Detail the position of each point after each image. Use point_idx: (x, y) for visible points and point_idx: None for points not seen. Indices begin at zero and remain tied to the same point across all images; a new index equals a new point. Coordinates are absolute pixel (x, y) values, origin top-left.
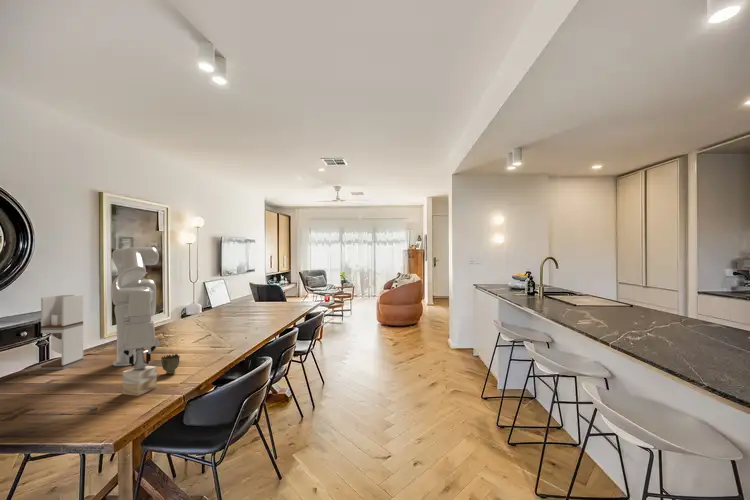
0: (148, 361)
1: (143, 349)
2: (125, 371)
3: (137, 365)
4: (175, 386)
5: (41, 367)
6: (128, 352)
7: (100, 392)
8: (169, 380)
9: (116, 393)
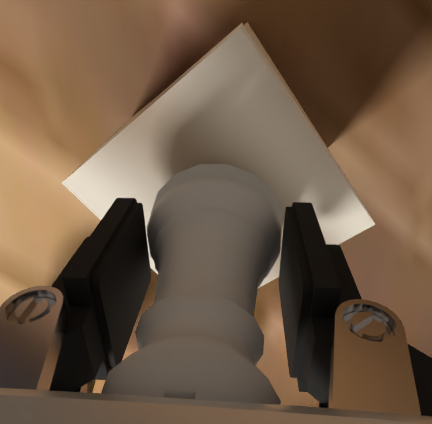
0: (110, 208)
1: None
2: (351, 214)
3: (243, 191)
4: (6, 60)
5: None
6: (418, 397)
7: (422, 256)
8: (65, 213)
9: (356, 179)
